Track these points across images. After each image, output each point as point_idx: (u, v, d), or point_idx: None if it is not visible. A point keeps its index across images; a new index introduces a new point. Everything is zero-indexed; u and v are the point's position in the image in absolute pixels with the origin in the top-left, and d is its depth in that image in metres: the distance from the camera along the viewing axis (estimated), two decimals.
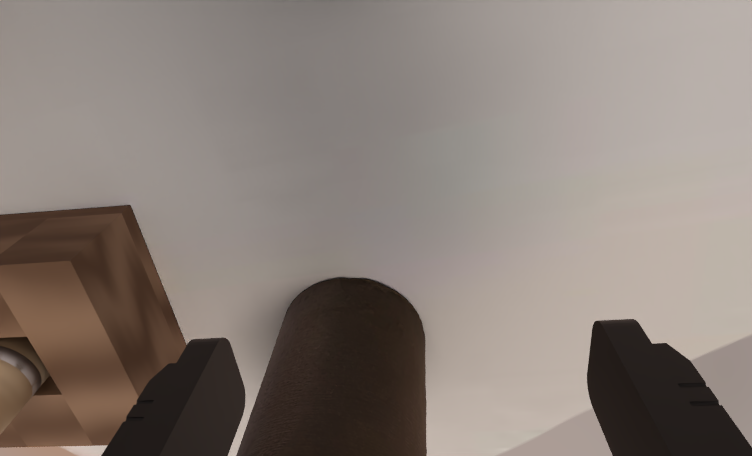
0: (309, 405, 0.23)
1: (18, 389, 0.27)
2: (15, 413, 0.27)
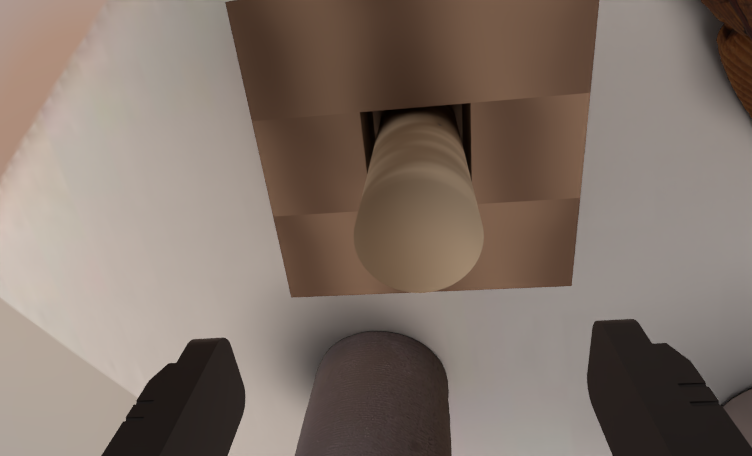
0: None
1: None
2: None
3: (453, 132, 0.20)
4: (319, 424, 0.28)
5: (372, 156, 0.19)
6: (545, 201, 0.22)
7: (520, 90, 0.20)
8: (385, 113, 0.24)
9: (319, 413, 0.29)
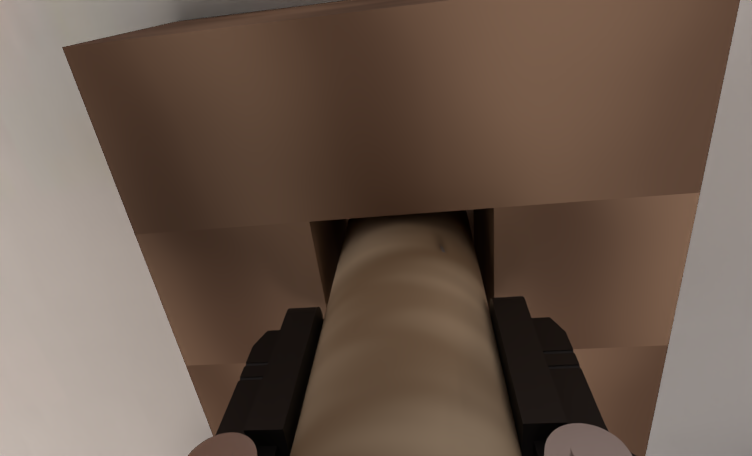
0: None
1: None
2: None
3: (465, 257, 0.12)
4: None
5: (327, 308, 0.11)
6: (612, 349, 0.14)
7: (579, 188, 0.12)
8: None
9: None
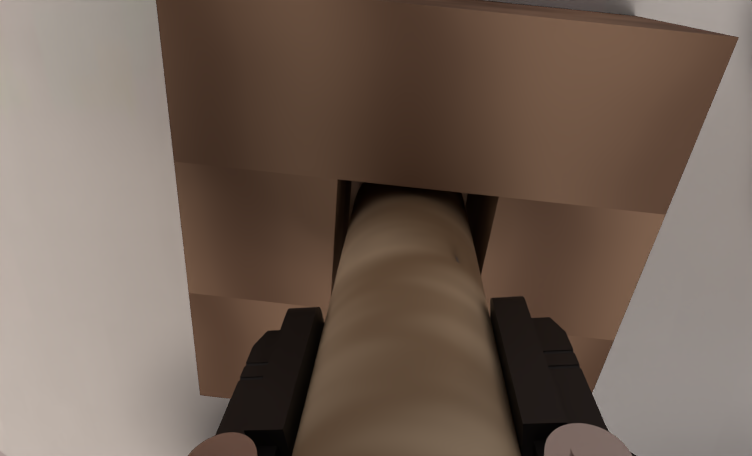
0: None
1: None
2: None
3: (475, 270, 0.12)
4: None
5: (336, 298, 0.11)
6: (568, 336, 0.16)
7: (572, 193, 0.14)
8: (366, 194, 0.15)
9: None
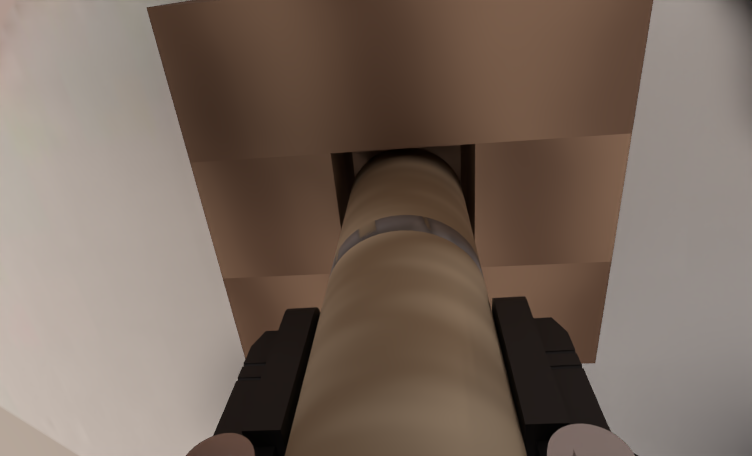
0: None
1: None
2: None
3: (465, 244, 0.12)
4: None
5: (327, 292, 0.11)
6: (568, 264, 0.17)
7: (540, 129, 0.15)
8: (356, 188, 0.15)
9: None
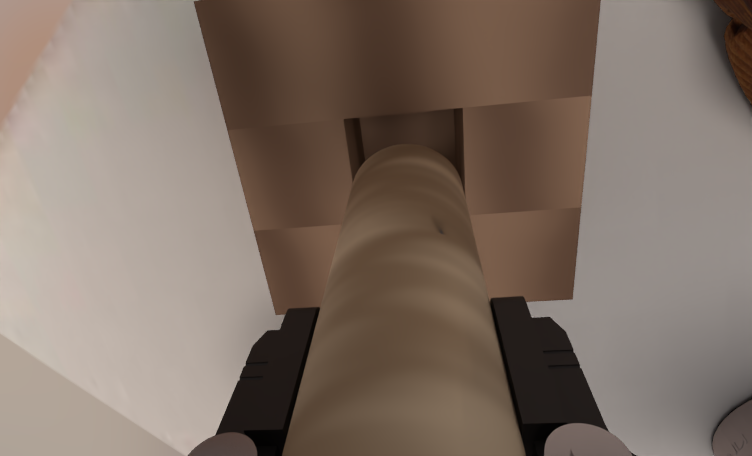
0: None
1: None
2: None
3: (464, 239, 0.12)
4: None
5: (325, 290, 0.11)
6: (544, 211, 0.20)
7: (516, 93, 0.18)
8: (356, 185, 0.15)
9: None
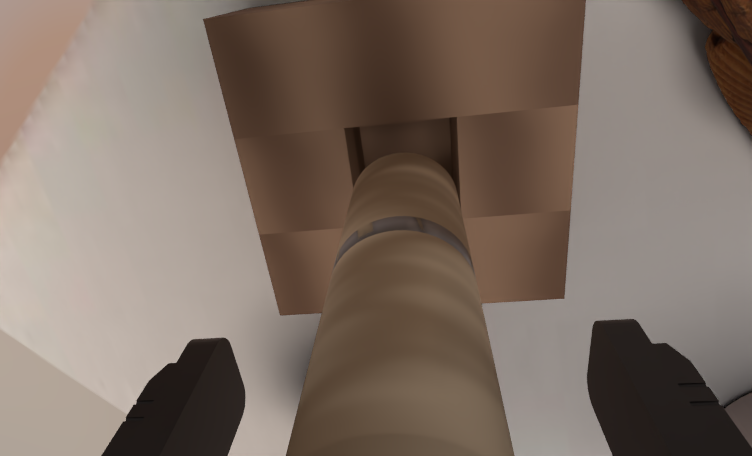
0: None
1: None
2: None
3: (456, 241, 0.13)
4: None
5: (328, 289, 0.12)
6: (536, 214, 0.21)
7: (507, 103, 0.19)
8: (356, 192, 0.16)
9: None
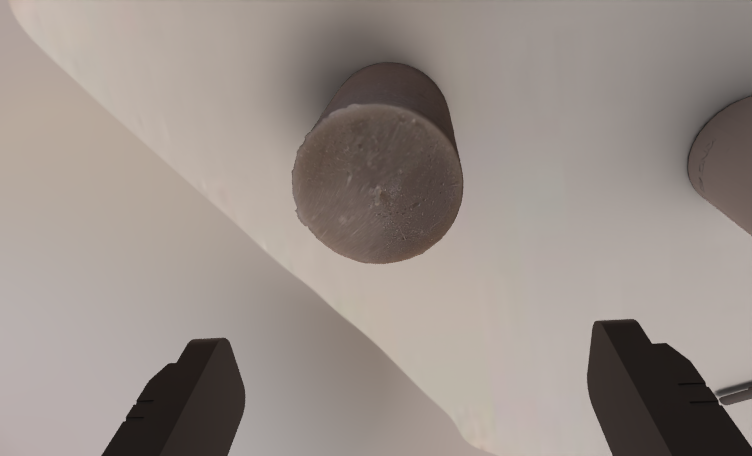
0: None
1: None
2: None
3: None
4: (335, 98, 0.31)
5: None
6: None
7: None
8: None
9: (335, 97, 0.32)
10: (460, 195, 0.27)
